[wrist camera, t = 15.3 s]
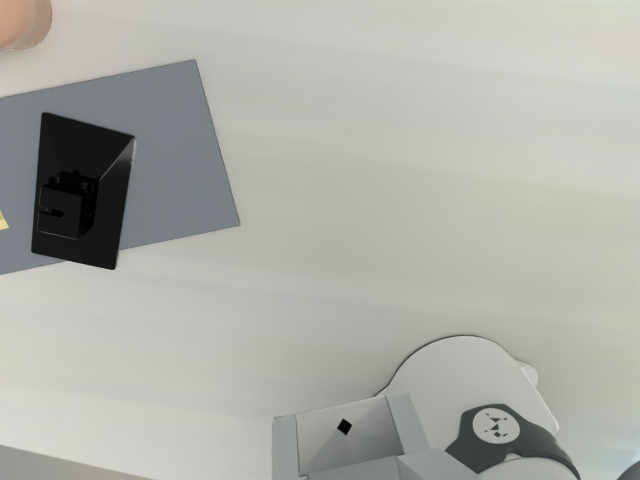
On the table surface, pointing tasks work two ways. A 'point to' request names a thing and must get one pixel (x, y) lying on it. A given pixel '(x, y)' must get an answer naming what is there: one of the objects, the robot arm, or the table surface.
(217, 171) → the mat
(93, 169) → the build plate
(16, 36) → the peach rounded cylinder
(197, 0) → the table surface
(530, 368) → the robot arm
